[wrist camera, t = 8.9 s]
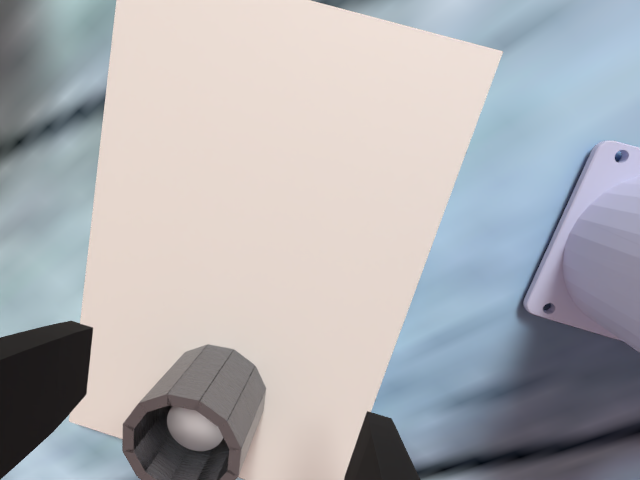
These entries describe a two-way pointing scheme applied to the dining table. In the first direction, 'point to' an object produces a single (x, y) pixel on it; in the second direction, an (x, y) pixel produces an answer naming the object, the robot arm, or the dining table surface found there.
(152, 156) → the board
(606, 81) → the dining table surface
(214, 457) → the steel tube
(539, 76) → the dining table surface
